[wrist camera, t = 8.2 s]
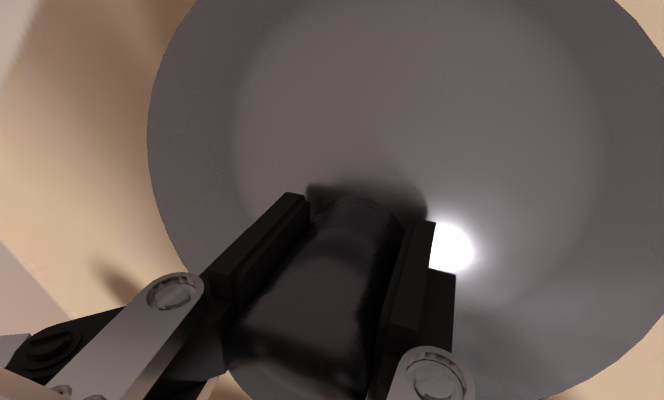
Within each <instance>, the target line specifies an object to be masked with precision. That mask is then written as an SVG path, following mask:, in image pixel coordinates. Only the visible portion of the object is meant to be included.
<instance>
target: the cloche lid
mask: <svg viewBox="0 0 664 400" xmlns="http://www.w3.org/2000/svg"><path fill="white" fill-rule="evenodd" d="M147 148H148V163H149V171H150V176H151V181H152V187H153V192H154V195H155V199H156V202H157V206H158V209H159V212H160V216H161V218H162V221H163V223H164V225H165V228H166V230H167V233H168V235H169V238H170V240H171V242H172V244H173V246H174V247H175V249H176V251H177V253H178V255H179V257H180V259H181V261H182V262H183V264H184V265H185V267H186V268H187V270H188V272H189V273H192V274H195V275H197V276H199V275H200V274H201V273H202V272H203V271H204V270H205V269H206V268H207V267H208V266H209V265H210V264H211V263H212V262H213V261H214V260H216V259H217V258H218V257H219V256H220V255H221V254H222V253H223V252H224V251H225V250H226V249H227V248H228V247H229V246H230V245H231V244H232V243H233V242H234V241H235V240H236V239H237V238H238V237H239V236H240V235H241V234H242V233H243V232H244V231H245V230H246V229H247V228H249V227H250V226H251V225H252V224H253V223H254V222H255V221H256V220H257V219H258V218H259V217H261V216H262V215H263V214H264V213H265V212H266V211H267V210H268V209H269V208H270V207H271V206H272V205H273V204H274V203H275V202H276V201H277V200H278V199H279V198H280V197H281V196H282V195H283V194H284V193H285V192H291V193H296V194H301V195H304V196H305V199H306V200H307V201H309V202H310V225H309V226H308V227H307V229H306V230H305V231H304V233H303V234H302V235H301V237H300V238H299V239H298V241H297V242H296V243H295V245H294V246H293V247H292V248H291V250H290V251H289V252H288V254H287V255H286V256H285V258H284V259H283V260H282V262H281V263H280V264H279V266H278V267H277V268H276V270H275V271H274V272H273V274H272V275H271V276H270V278H269V279H268V280H267V281H266V283H265V284H264V285H263V287H262V288H261V289H260V291H259V292H258V293H257V295H256V296H255V297H254V299H253V300H252V301H251V303H250V304H249V305H248V307H247V308H246V309H245V311H244V312H243V313H242V314H241V316H240V317H239V318H238V320H237V321H236V322H235V324H234V325H233V326H232V328H231V329H230V330H229V332H228V333H227V335H226V336H225V339H224V342H223V356H224V360H225V363H226V365H227V368H228V370H229V372H230V373H231V375H232V377H233V378H234V380H235V381H236V382H237V383H238V385H239V386H240V387H241V388H242V389H243V390H244V391H245V392H246V393H247V394H248V395H249V396H250V397H251V398H252V399H253V400H367V397H368V390H369V386H370V382H371V379H372V375H373V371H374V349H375V343H376V336H377V329H378V324H379V319H380V315H381V311H382V307H383V304H384V301H385V297H386V294H387V291H388V287H389V284H390V281H391V278H392V274H393V271H394V268H395V264H396V261H397V258H398V254H399V251H400V248H401V244H402V241H403V238H404V235H405V231H406V228H407V225H408V222H412V223H416V220H417V219H422V220H427V221H432V222H436V227H435V233H434V239H433V245H432V251H431V257H430V263H429V268H432V269H436V270H440V271H444V272H448V273H452V274H456V290H455V307H454V324H453V340H452V354H453V355H454V356H456V357H457V358H458V359H459V360H460V361H462V362H463V363H464V365H465V366H466V367H467V369H468V370H469V371H470V373H471V375H472V378H473V380H474V383H475V394H476V395H475V400H540V399H543V398H545V397H548V396H551V395H554V394H557V393H560V392H563V391H565V390H567V389H569V388H571V387H573V386H575V385H577V384H579V383H582V382H584V381H586V380H588V379H590V378H591V377H593V376H594V375H596V374H598V373H599V372H601V371H602V370H604V369H605V368H607V367H608V366H610V365H611V364H613V363H615V362H616V361H617V360H619V359H620V358H621V357H622V356H623V355H624V354H626V353H627V352H628V351H629V350H630V349H631V348H632V347H634V346H635V345H636V344H637V343H638V342H639V341H640V340H642V339H643V338H644V336H645V335H646V334H647V333H648V332H649V330H650V329H651V328H652V327H653V326H654V324H655V323H656V322H657V321H658V320H659V318H660V317H661V316H662V315H663V314H664V57H663V56H662V55H661V53H660V52H659V50H658V49H657V48H656V46H655V45H654V44H653V42H652V41H651V40H650V38H649V37H648V36H647V34H646V33H645V32H644V30H643V29H642V28H641V26H640V25H639V24H638V22H637V21H636V20H635V19H634V18H633V17H632V16H631V15H630V14H629V13H628V12H627V11H626V10H624V9H623V8H622V7H621V6H620V5H619V4H618V3H617V2H616V1H615V0H198V1H197V2H196V3H195V5H194V6H193V7H192V9H191V10H190V12H189V13H188V14H187V16H186V17H185V18H184V20H183V21H182V23H181V24H180V25H179V27H178V28H177V30H176V32H175V34H174V36H173V38H172V40H171V42H170V44H169V46H168V48H167V50H166V52H165V54H164V56H163V58H162V61H161V64H160V67H159V70H158V73H157V76H156V79H155V82H154V86H153V91H152V96H151V102H150V107H149V112H148V130H147Z"/></svg>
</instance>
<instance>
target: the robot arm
mask: <svg viewBox="0 0 664 400" xmlns="http://www.w3.org/2000/svg"><path fill="white" fill-rule="evenodd" d="M309 225H310V202H309V201H307V200H306V199H305V196H304V195H301V194H296V193H291V192H285V193H284V194H283V195H282V196H281V197H280V198H279V199H278V200H277V201H276V202H275V203H274V204H273V205H272V206H271V207H270V208H269V209H268V210H267V211H266V212H265V213H264V214H263V215H262V216H261V217H259V218H258V219H257V220H256V221H255V222H254V223H253V224H252V225H251V226H250V227H249V228H247V229H246V230H245V231H244V232H243V233H242V234H241V235H240V236H239V237H238V238H237V239H236V240H235V241H234V242H233V243H232V244H231V245H230V246H229V247H228V248H227V249H226V250H225V251H224V252H223V253H222V254H221V255H220V256H219V257H218V258H217V259H216V260H214V261H213V262H212V263H211V264H210V265H209V266H208V267H207V268H206V269H205V270H204V271H203V272H202V273H201V274H200V275H199V276H197V275H195V274H192V273H186V272H178V273H171V274H168V275H164V276H162V277H160V278H158V279H156V280H154V281H152V282H151V283H150V284H149V285H147V286H146V287H145V288H144V289H143V290H142V291H141V292H140V293H139V294H138V295H137V296H136V297H135V298H134V299H133V300H132V301H131V302H130V303H129V304H128V305H127V306H124V307H120V308H116V309H112V310H109V311H105V312H101V313H97V314H94V315H90V316H86V317H82V318H79V319H75V320H71V321H68V322H64V323H60V324H56V325H54V326H51V327H48V328H45V329H43V330H42V331H40V332H38V333H36V334H34V335H33V336H31V335H30V333H27V334H16V335H5V336H0V400H208V398H209V396H210V395H211V393H212V391H213V389H214V388H215V386H216V384H217V382H218V379H219V377H220V375H222V374H225V373H226V371H227V370H228V368H227V365H226V363H225V360H224V356H223V342H224V339H225V336H226V335H227V333H228V332H229V330H230V329H231V328H232V326H233V325H234V324H235V322H236V321H237V320H238V318H239V317H240V316H241V314H242V313H243V312H244V311H245V309H246V308H247V307H248V305H249V304H250V303H251V301H252V300H253V299H254V297H255V296H256V295H257V293H258V292H259V291H260V289H261V288H262V287H263V285H264V284H265V283H266V281H267V280H268V279H269V278H270V276H271V275H272V274H273V272H274V271H275V270H276V268H277V267H278V266H279V264H280V263H281V262H282V260H283V259H284V258H285V256H286V255H287V254H288V252H289V251H290V250H291V248H292V247H293V246H294V245H295V243H296V242H297V241H298V239H299V238H300V237H301V235H302V234H303V233H304V231H305V230H306V229H307V227H308V226H309ZM435 227H436V222H432V221H427V220H422V219H417V220H416V223H412V222H408V225H407V228H406V231H405V235H404V238H403V241H402V244H401V248H400V251H399V254H398V258H397V261H396V264H395V268H394V271H393V274H392V278H391V281H390V284H389V287H388V291H387V294H386V297H385V301H384V304H383V307H382V311H381V315H380V319H379V324H378V329H377V336H376V343H375V349H374V371H373V375H372V379H371V382H370V386H369V390H368V397H367V400H475V395H476V394H475V383H474V380H473V378H472V375H471V373H470V371H469V370H468V369H467V367H466V366H465V365H464V363H463V362H462V361H460V360H459V359H458V358H457V357H456V356H454V355H453V354H452V340H453V324H454V307H455V290H456V274H452V273H448V272H444V271H440V270H436V269H432V268H429V263H430V257H431V251H432V245H433V239H434V233H435Z"/></svg>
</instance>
